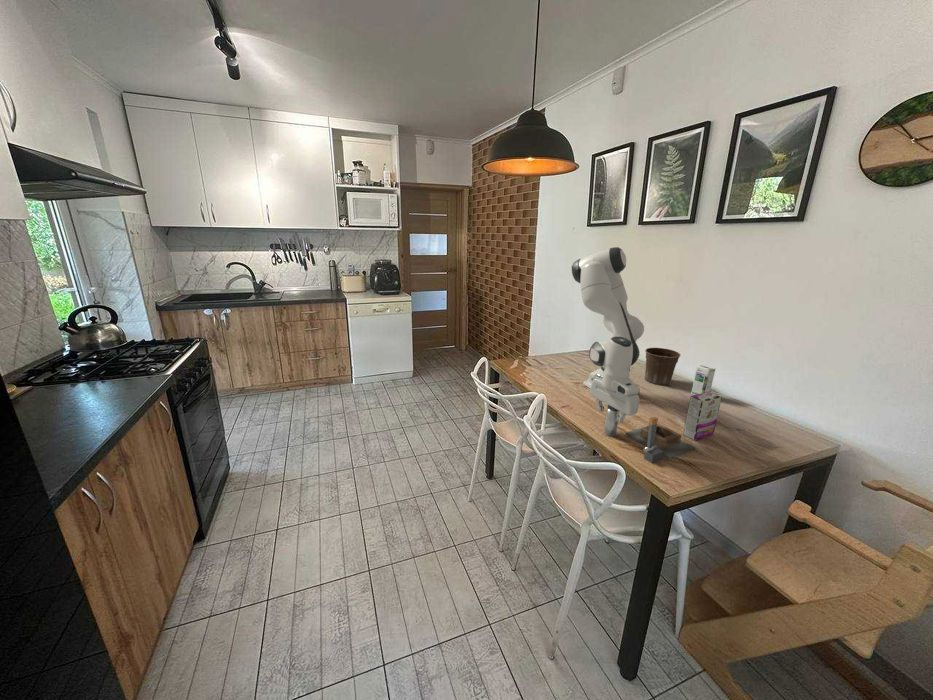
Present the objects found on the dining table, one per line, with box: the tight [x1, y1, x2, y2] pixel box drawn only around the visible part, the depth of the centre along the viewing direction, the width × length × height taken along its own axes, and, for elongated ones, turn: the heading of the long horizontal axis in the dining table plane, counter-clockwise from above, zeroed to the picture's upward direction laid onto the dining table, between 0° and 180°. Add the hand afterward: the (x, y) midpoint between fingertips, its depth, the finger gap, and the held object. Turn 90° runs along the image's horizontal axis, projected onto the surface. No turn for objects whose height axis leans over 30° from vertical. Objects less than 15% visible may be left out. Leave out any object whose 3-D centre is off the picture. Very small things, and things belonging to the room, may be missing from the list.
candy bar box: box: [682, 390, 723, 441], centre depth 137 cm, size 11×5×16 cm, turn 114°
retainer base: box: [642, 445, 663, 464], centre depth 123 cm, size 4×5×4 cm
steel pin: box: [603, 404, 621, 437], centre depth 137 cm, size 4×4×12 cm
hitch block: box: [625, 423, 697, 460], centre depth 133 cm, size 18×14×4 cm
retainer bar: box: [646, 416, 659, 447], centre depth 122 cm, size 1×3×10 cm, turn 116°
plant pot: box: [644, 347, 681, 386], centre depth 190 cm, size 16×16×16 cm
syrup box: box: [690, 364, 716, 396], centre depth 173 cm, size 6×6×14 cm
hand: (609, 415), depth 137 cm, fingers open, 8 cm apart
